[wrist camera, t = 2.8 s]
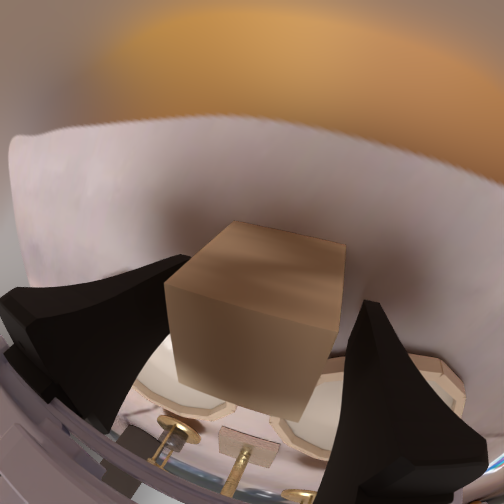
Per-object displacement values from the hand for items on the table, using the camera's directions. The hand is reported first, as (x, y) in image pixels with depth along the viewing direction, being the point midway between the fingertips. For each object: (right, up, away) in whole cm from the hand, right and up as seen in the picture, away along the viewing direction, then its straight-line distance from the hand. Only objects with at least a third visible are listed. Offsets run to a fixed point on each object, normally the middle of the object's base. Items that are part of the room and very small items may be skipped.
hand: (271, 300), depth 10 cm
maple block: (0, +1, +1) cm, 2 cm away
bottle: (-15, -24, +19) cm, 34 cm away
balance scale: (-1, -15, +10) cm, 18 cm away
